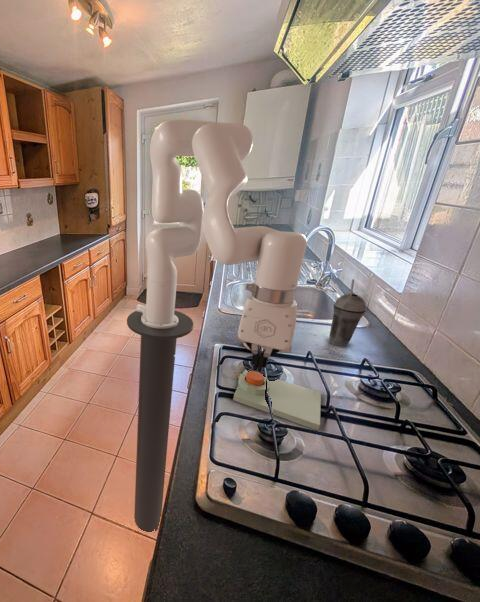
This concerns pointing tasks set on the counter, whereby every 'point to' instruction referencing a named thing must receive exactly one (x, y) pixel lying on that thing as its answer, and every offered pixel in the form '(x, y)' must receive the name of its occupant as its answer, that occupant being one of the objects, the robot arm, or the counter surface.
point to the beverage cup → (346, 317)
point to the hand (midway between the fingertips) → (258, 368)
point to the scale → (282, 400)
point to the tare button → (255, 378)
